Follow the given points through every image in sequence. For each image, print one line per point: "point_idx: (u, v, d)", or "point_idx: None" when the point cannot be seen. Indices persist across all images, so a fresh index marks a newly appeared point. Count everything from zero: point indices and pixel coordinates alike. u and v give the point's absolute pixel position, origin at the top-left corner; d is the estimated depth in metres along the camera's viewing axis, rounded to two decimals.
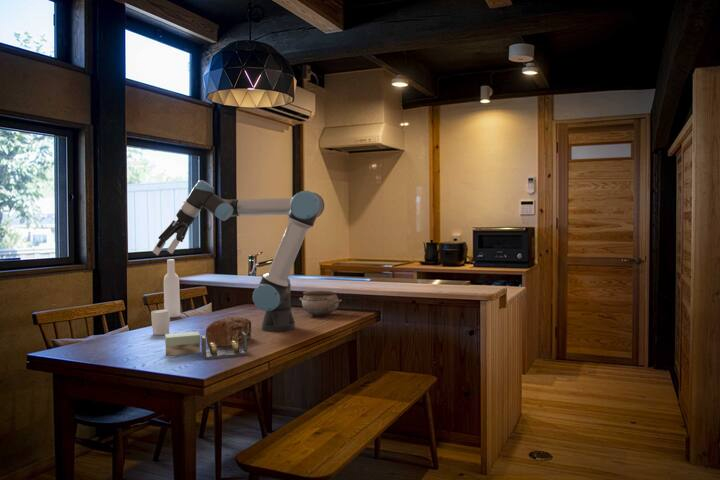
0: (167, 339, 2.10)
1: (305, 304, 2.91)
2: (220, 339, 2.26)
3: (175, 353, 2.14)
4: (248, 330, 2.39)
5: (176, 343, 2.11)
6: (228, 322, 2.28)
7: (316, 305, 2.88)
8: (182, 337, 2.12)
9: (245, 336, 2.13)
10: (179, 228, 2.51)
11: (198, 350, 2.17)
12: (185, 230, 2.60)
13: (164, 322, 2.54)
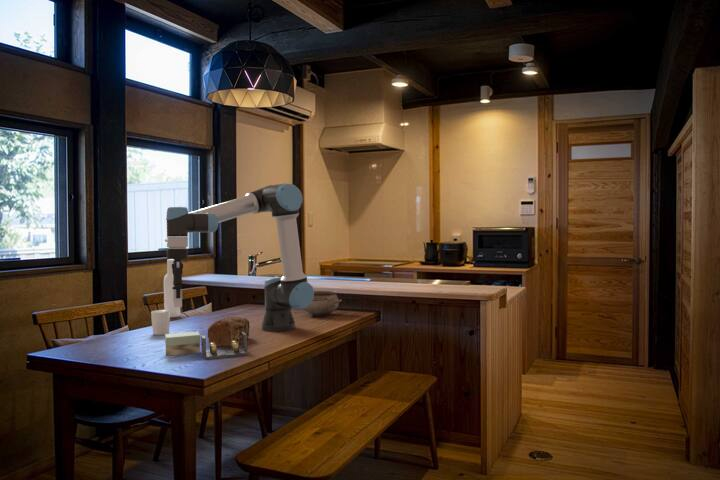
0: (167, 339, 2.10)
1: None
2: (223, 339, 2.26)
3: (175, 353, 2.14)
4: (247, 330, 2.40)
5: (176, 343, 2.11)
6: (230, 322, 2.28)
7: (316, 305, 2.88)
8: (182, 337, 2.12)
9: (245, 336, 2.13)
10: (182, 267, 2.15)
11: (198, 350, 2.17)
12: None
13: (164, 322, 2.54)
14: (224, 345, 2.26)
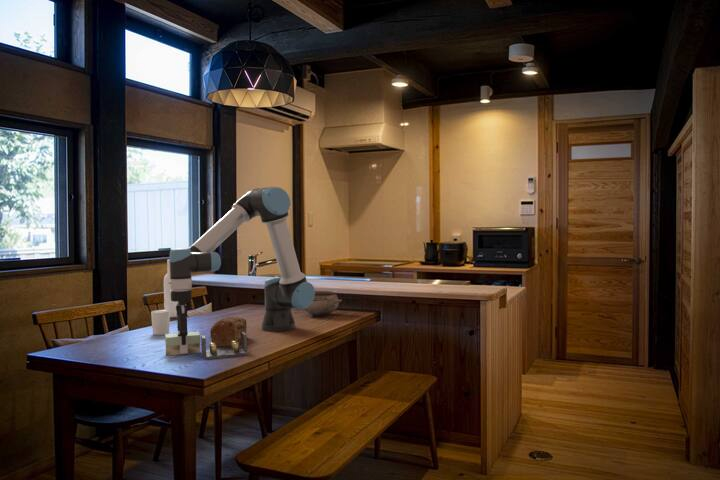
0: (167, 339, 2.10)
1: None
2: (227, 339, 2.26)
3: (175, 353, 2.14)
4: (245, 329, 2.42)
5: (176, 343, 2.11)
6: (233, 321, 2.29)
7: (316, 305, 2.88)
8: None
9: (245, 336, 2.13)
10: None
11: (198, 350, 2.17)
12: None
13: (164, 322, 2.54)
14: (228, 345, 2.26)
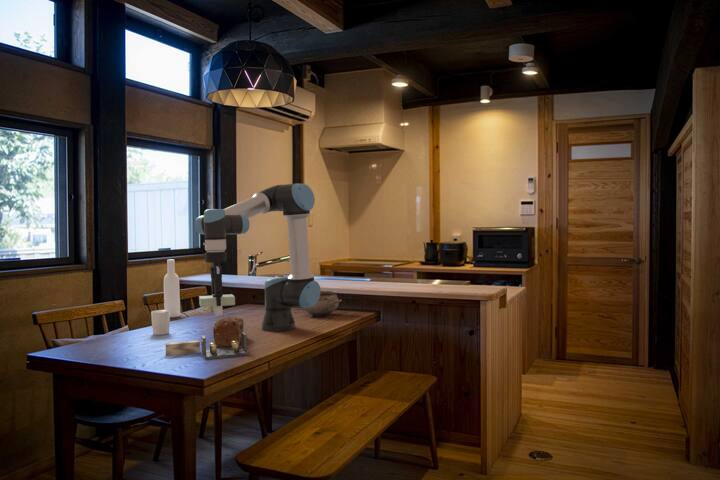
0: (202, 300, 2.07)
1: None
2: (231, 338, 2.26)
3: (175, 353, 2.14)
4: (242, 329, 2.42)
5: (211, 304, 2.08)
6: (236, 321, 2.29)
7: (316, 305, 2.88)
8: None
9: (245, 336, 2.13)
10: None
11: (198, 350, 2.17)
12: None
13: (164, 322, 2.54)
14: (231, 344, 2.27)
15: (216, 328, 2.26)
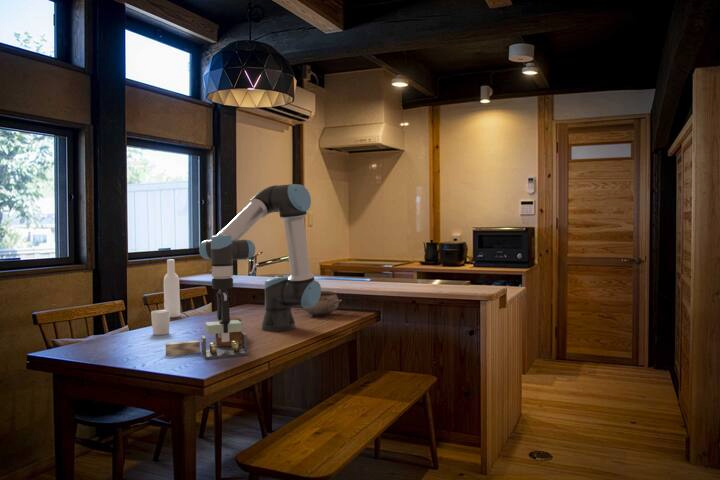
0: (209, 327, 2.07)
1: None
2: (233, 338, 2.27)
3: (175, 353, 2.14)
4: None
5: (218, 331, 2.08)
6: None
7: (316, 305, 2.88)
8: None
9: (245, 336, 2.13)
10: None
11: (198, 350, 2.17)
12: None
13: (164, 322, 2.54)
14: None
15: None
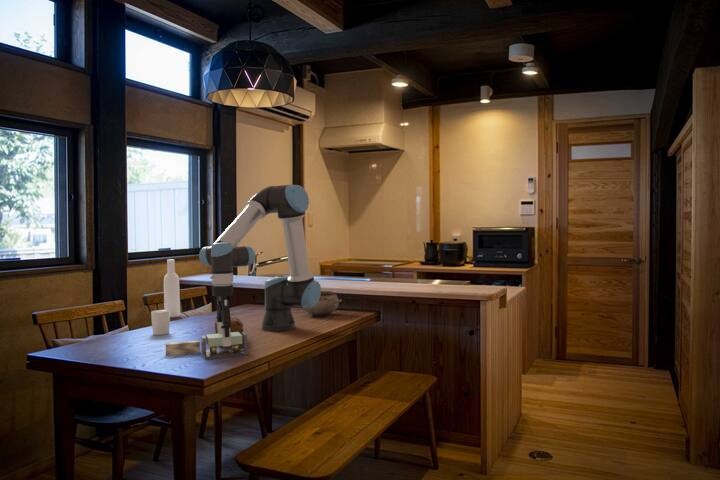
0: (209, 340, 2.07)
1: None
2: None
3: (175, 353, 2.14)
4: None
5: (218, 344, 2.08)
6: (239, 321, 2.30)
7: (316, 305, 2.88)
8: None
9: (245, 336, 2.13)
10: None
11: (198, 350, 2.17)
12: None
13: (164, 322, 2.54)
14: None
15: None
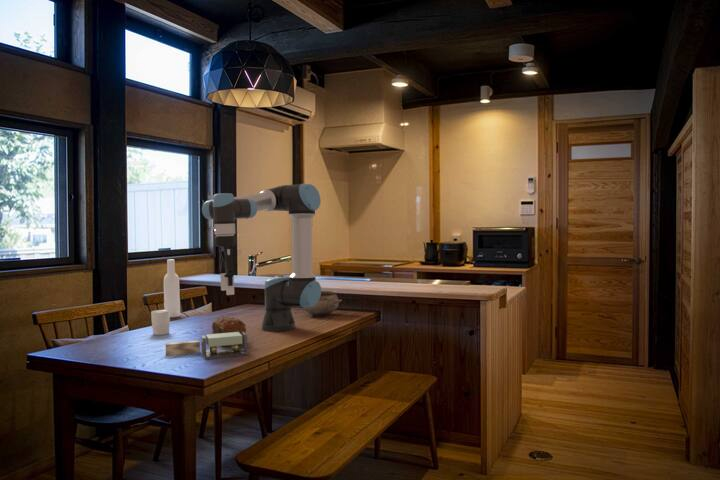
0: (209, 340, 2.07)
1: None
2: None
3: (175, 353, 2.14)
4: None
5: (218, 344, 2.08)
6: (240, 320, 2.31)
7: (316, 305, 2.88)
8: (224, 338, 2.09)
9: (245, 336, 2.13)
10: None
11: (198, 350, 2.17)
12: None
13: (164, 322, 2.54)
14: None
15: (223, 328, 2.26)
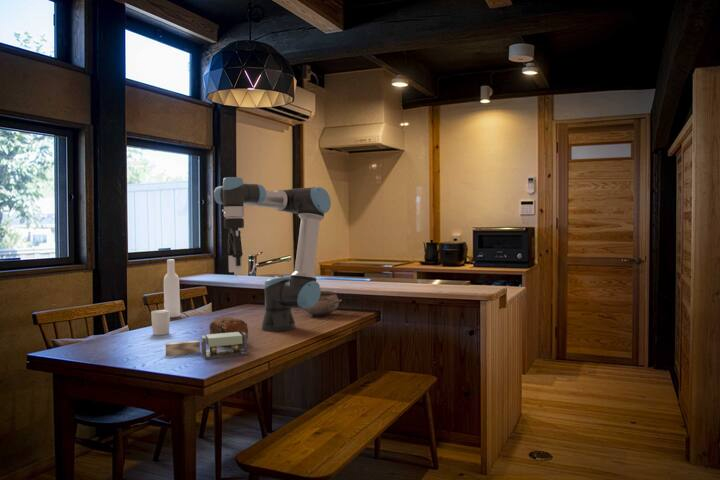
0: (209, 340, 2.07)
1: None
2: None
3: (175, 353, 2.14)
4: None
5: (218, 344, 2.08)
6: (241, 320, 2.32)
7: (316, 305, 2.88)
8: (224, 338, 2.09)
9: (245, 336, 2.13)
10: None
11: (198, 350, 2.17)
12: None
13: (164, 322, 2.54)
14: None
15: (226, 328, 2.26)
